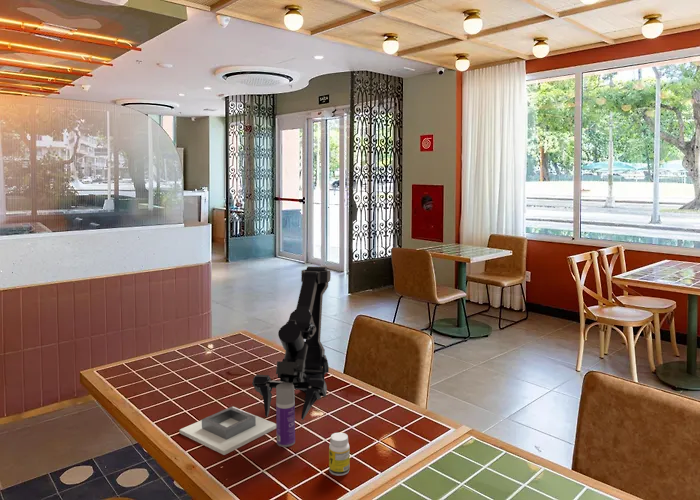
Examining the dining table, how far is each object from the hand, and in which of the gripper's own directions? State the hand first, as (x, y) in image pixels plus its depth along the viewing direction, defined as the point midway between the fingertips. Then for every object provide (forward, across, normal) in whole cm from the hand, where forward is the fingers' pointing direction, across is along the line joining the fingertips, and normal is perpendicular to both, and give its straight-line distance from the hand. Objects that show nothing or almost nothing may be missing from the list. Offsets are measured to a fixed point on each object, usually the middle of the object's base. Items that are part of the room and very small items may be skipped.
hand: (284, 417), depth 134 cm
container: (+4, 0, +6) cm, 8 cm away
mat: (+1, -17, +9) cm, 19 cm away
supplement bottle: (+12, +16, -2) cm, 20 cm away
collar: (+1, -17, +9) cm, 19 cm away
